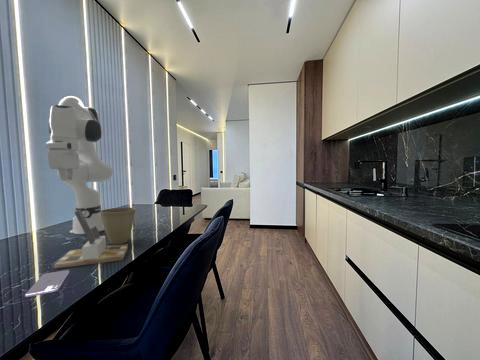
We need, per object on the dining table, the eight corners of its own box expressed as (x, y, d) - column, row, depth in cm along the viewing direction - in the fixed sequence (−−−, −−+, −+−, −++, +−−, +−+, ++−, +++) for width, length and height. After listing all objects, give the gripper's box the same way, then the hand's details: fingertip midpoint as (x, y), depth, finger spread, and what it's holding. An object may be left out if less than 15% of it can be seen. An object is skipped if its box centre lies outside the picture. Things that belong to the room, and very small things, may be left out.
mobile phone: (70, 268, 80) (56, 289, 66) (70, 271, 80) (57, 292, 66) (42, 273, 77) (23, 295, 63) (42, 275, 77) (23, 298, 63)
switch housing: (92, 248, 97) (92, 237, 97) (106, 247, 99) (105, 235, 99) (82, 260, 85) (82, 247, 85) (97, 258, 87) (97, 245, 86)
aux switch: (97, 236, 97) (92, 226, 96) (100, 235, 98) (96, 225, 97) (95, 239, 94) (90, 229, 93) (98, 237, 94) (93, 227, 93)
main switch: (92, 241, 91) (77, 210, 88) (96, 240, 91) (81, 209, 89) (89, 244, 87) (73, 212, 85) (93, 243, 88) (77, 210, 85)
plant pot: (134, 245, 105) (132, 211, 104) (97, 249, 101) (96, 213, 100) (138, 236, 120) (137, 206, 119) (106, 239, 115) (104, 208, 114)
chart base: (70, 253, 96) (70, 249, 96) (128, 247, 103) (127, 243, 103) (54, 268, 82) (54, 264, 81) (122, 260, 89) (122, 255, 88)
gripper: (66, 148, 100) (68, 179, 101) (43, 143, 81) (45, 182, 81) (83, 148, 102) (84, 178, 103) (64, 143, 83) (66, 181, 84)
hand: (67, 180), depth 92 cm, fingers open, 4 cm apart
